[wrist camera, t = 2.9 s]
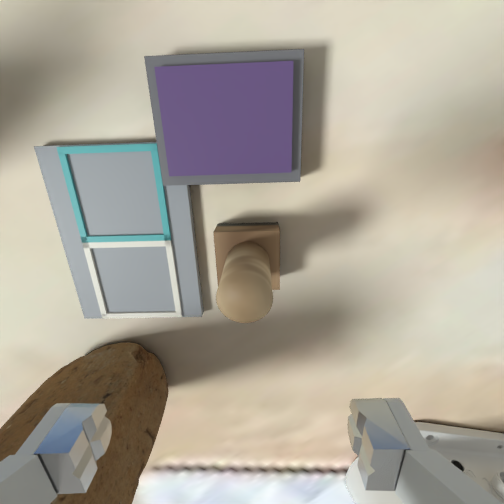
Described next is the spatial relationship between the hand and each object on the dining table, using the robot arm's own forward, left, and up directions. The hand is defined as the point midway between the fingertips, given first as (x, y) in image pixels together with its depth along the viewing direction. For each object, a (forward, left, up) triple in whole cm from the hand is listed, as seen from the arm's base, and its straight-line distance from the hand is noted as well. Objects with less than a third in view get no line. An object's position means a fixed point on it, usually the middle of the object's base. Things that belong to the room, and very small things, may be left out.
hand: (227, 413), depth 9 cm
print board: (+10, -1, -16) cm, 19 cm away
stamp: (0, 0, -16) cm, 16 cm away
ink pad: (+1, -10, -16) cm, 18 cm away
